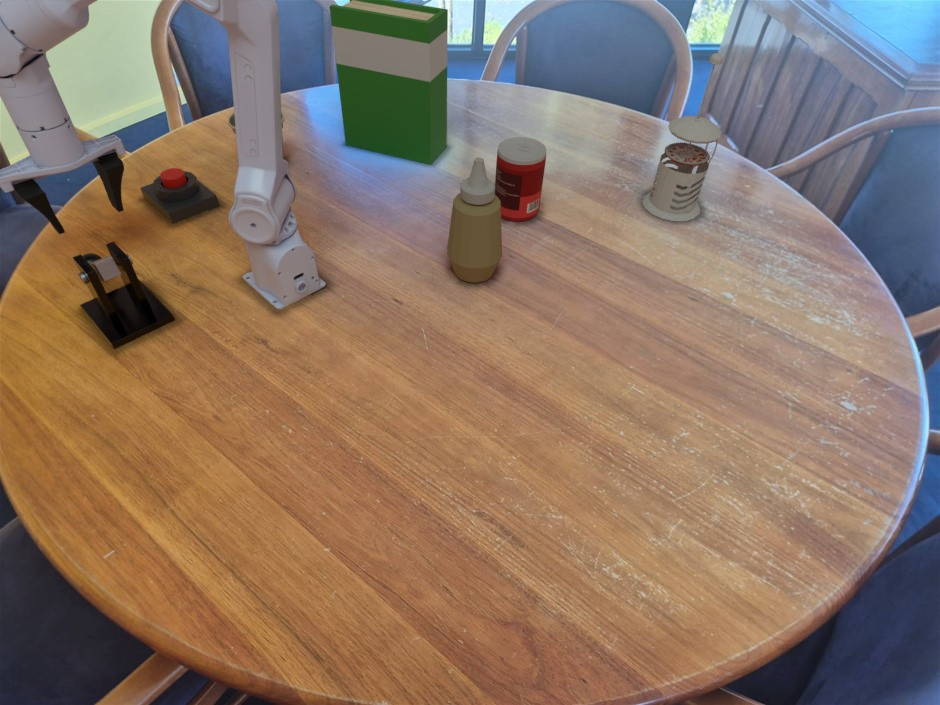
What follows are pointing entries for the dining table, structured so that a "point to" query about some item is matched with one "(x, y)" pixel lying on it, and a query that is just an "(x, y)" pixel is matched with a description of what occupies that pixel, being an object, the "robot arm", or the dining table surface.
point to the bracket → (121, 302)
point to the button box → (180, 198)
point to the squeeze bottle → (475, 227)
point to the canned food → (519, 177)
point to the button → (173, 178)
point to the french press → (683, 166)
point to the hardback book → (392, 76)
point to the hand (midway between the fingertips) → (89, 219)
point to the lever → (103, 266)
